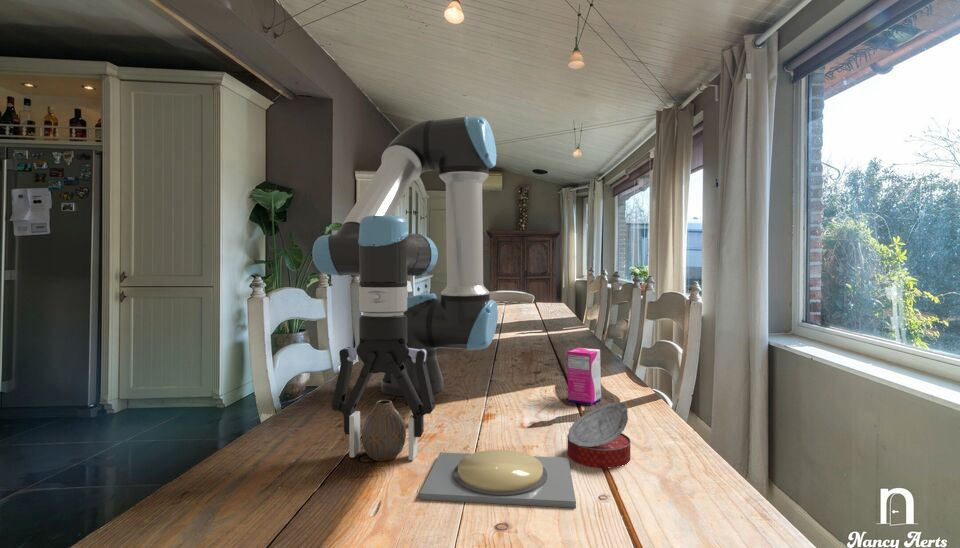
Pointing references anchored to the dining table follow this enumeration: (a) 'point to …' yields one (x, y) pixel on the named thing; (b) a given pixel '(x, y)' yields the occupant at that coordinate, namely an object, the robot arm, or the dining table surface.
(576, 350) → the supplement box
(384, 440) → the vase
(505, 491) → the board
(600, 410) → the canned food
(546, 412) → the dining table surface
